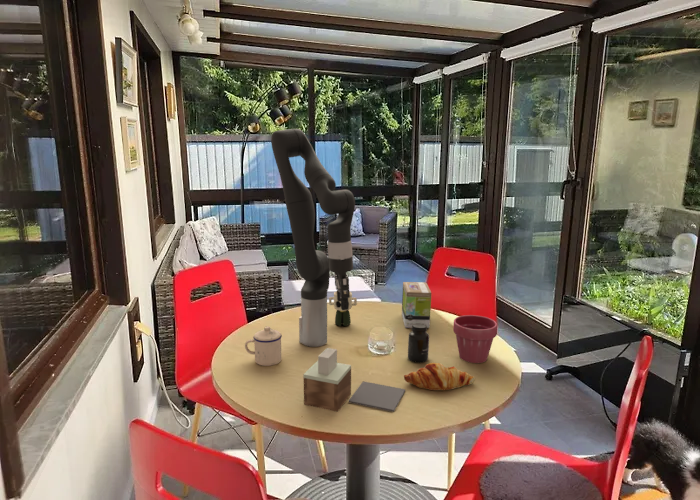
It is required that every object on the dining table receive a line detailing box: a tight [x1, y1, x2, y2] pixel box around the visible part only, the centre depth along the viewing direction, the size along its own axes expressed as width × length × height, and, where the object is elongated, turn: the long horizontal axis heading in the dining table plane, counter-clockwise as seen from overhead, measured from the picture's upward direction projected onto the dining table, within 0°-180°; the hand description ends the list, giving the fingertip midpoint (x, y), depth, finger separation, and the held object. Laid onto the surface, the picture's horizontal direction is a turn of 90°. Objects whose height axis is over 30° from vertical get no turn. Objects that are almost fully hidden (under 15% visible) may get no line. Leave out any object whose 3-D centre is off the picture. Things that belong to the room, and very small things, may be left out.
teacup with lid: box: [244, 326, 283, 367], centre depth 157 cm, size 12×9×12 cm
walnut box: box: [303, 368, 352, 413], centre depth 134 cm, size 10×10×8 cm
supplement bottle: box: [407, 323, 430, 364], centre depth 159 cm, size 7×7×12 cm
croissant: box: [403, 362, 476, 391], centre depth 143 cm, size 21×10×8 cm, turn 93°
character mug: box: [328, 290, 358, 327], centre depth 190 cm, size 11×7×13 cm, turn 87°
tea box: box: [401, 281, 432, 329], centre depth 193 cm, size 15×10×15 cm
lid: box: [302, 347, 352, 384], centre depth 133 cm, size 10×10×7 cm
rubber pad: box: [348, 381, 406, 413], centre depth 136 cm, size 13×12×1 cm
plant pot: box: [452, 314, 498, 364], centre depth 161 cm, size 14×14×13 cm
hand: (342, 305), depth 152 cm, fingers open, 8 cm apart
